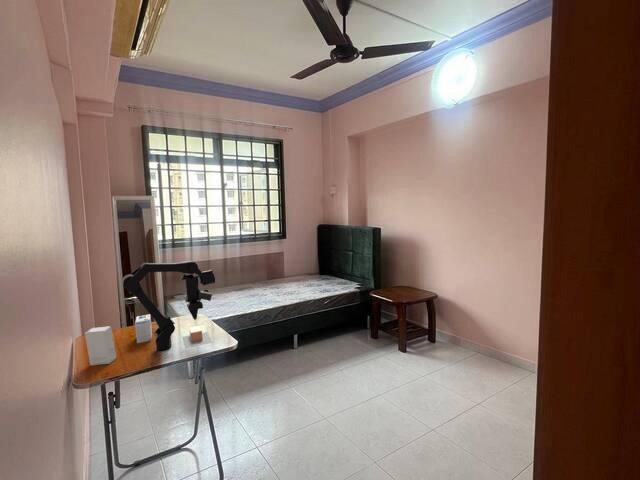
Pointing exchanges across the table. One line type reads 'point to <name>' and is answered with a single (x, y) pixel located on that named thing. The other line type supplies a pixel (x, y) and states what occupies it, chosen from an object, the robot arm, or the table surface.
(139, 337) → the light bulb box
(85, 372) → the table surface
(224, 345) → the table surface
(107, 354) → the skincare box
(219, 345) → the table surface
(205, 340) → the board
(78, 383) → the table surface
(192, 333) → the cream block
